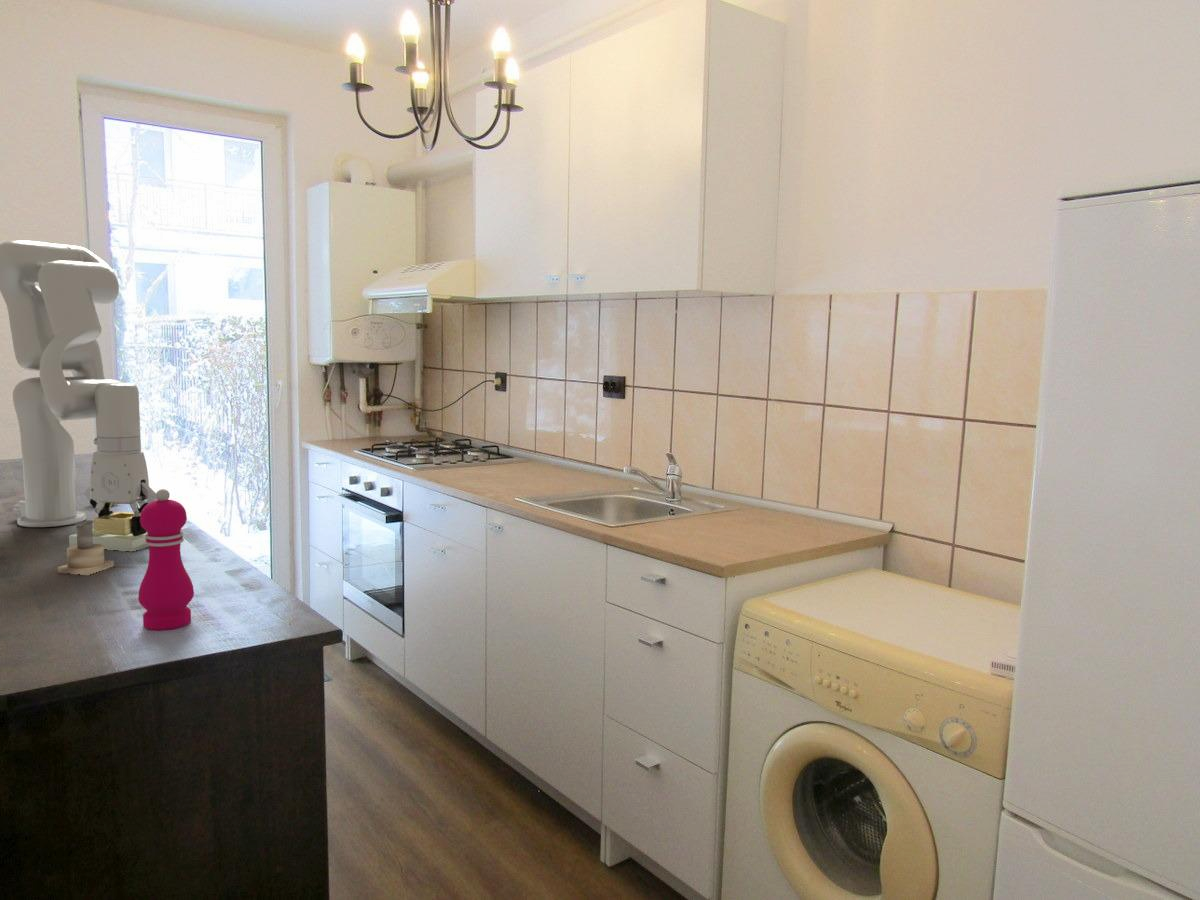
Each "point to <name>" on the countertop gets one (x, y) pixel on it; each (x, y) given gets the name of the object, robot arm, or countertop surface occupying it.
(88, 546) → the beige post on base
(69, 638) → the countertop surface
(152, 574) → the pepper mill
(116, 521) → the ring
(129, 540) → the tray
